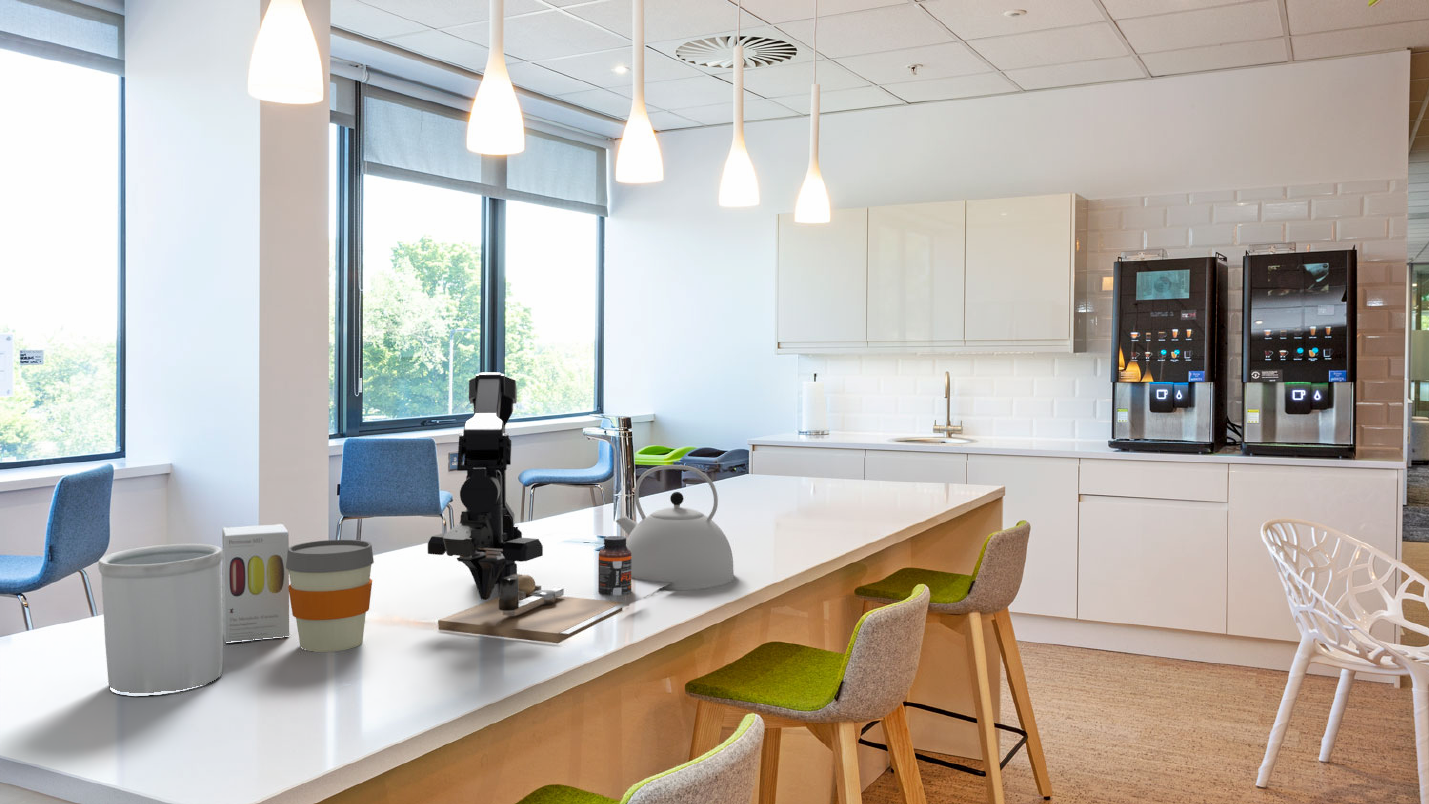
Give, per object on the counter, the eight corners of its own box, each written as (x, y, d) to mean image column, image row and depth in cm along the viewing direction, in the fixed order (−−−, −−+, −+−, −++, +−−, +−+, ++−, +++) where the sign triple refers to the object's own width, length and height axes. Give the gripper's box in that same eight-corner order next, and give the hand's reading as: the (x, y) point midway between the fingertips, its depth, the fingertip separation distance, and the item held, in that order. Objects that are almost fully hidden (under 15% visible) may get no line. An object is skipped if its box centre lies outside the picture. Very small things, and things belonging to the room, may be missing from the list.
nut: (510, 596, 185) (510, 576, 185) (521, 592, 189) (521, 572, 189) (528, 598, 184) (528, 577, 184) (539, 593, 188) (539, 573, 187)
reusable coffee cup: (286, 638, 164) (284, 542, 163) (371, 629, 169) (369, 537, 168) (288, 659, 152) (286, 556, 151) (378, 650, 157) (377, 550, 156)
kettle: (588, 583, 204) (588, 467, 203) (640, 562, 225) (640, 457, 224) (707, 594, 194) (707, 473, 193) (750, 571, 215) (750, 461, 214)
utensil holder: (94, 705, 132) (90, 567, 131) (109, 672, 146) (106, 547, 145) (223, 690, 138) (220, 558, 137) (226, 660, 152) (223, 540, 151)
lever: (548, 594, 185) (548, 560, 185) (568, 596, 184) (568, 561, 184) (492, 617, 169) (492, 579, 169) (514, 620, 167) (513, 581, 167)
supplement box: (224, 645, 160) (221, 535, 159) (221, 631, 168) (219, 526, 167) (291, 637, 164) (289, 530, 163) (285, 624, 172) (284, 522, 171)
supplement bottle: (626, 604, 186) (626, 540, 186) (594, 602, 187) (593, 539, 187) (635, 596, 192) (635, 535, 191) (604, 595, 193) (603, 534, 193)
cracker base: (437, 629, 169) (437, 601, 169) (516, 598, 191) (516, 573, 191) (558, 643, 161) (558, 614, 161) (626, 608, 183) (626, 583, 182)
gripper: (405, 507, 166) (406, 605, 167) (505, 513, 159) (506, 615, 160) (447, 498, 177) (448, 590, 177) (544, 504, 170) (544, 600, 170)
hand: (485, 599), depth 171 cm, fingers closed
